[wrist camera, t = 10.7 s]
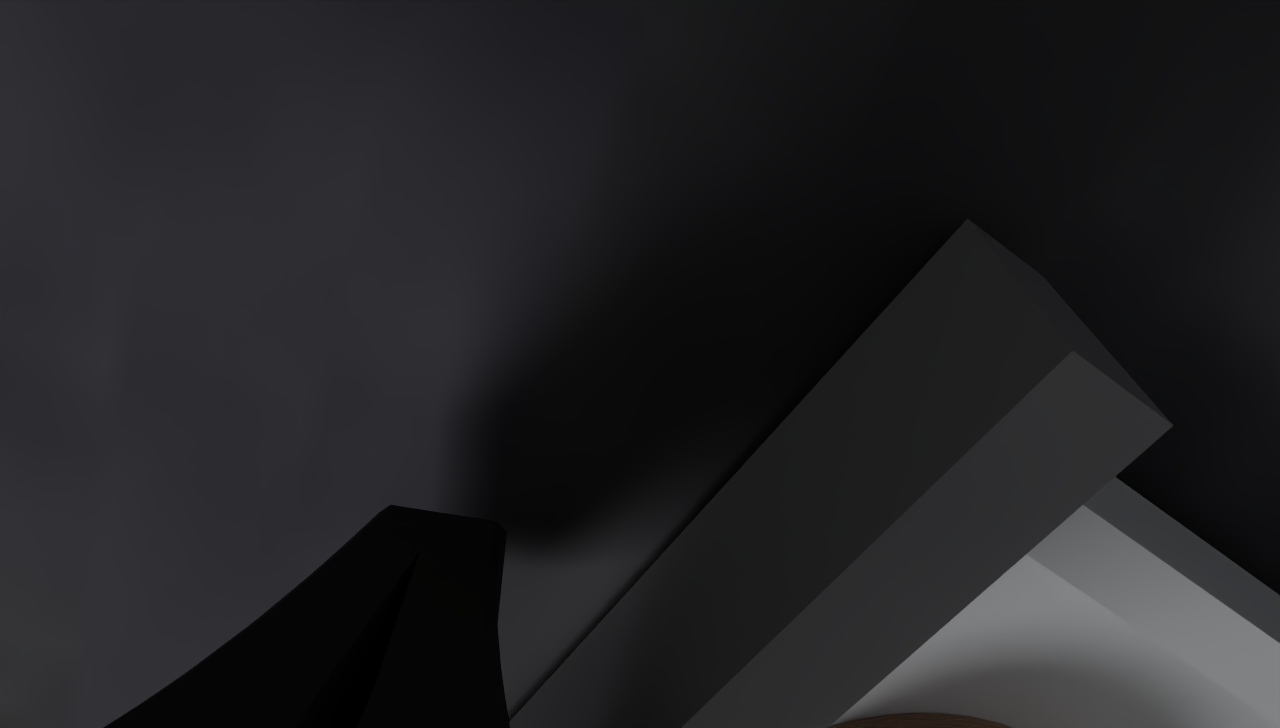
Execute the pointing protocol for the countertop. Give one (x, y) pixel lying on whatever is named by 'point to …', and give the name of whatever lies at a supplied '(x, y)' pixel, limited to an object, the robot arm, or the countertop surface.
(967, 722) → the disc
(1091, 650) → the tray
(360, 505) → the countertop surface
